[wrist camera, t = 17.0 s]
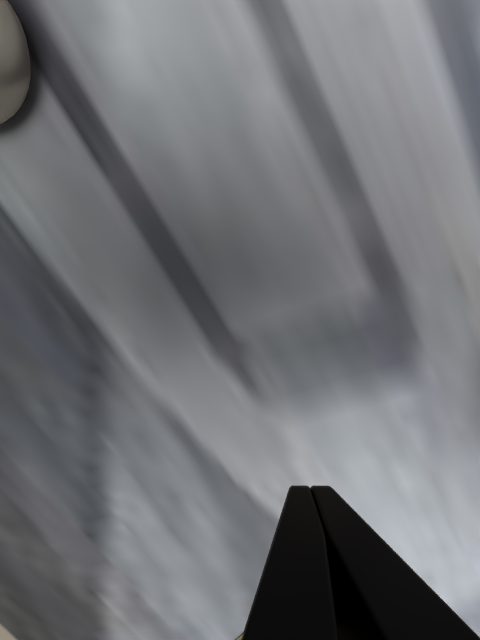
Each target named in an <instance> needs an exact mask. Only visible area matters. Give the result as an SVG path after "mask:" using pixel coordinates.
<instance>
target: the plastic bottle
mask: <svg viewBox="0 0 480 640" xmlns="http://www.w3.org/2000/svg"><path fill="white" fill-rule="evenodd" d="M30 76H31V70H30V56H29V50H28V45H27V40H26V36H25V33H24V31H23V28H22V25H21V22H20V20H19V19H18V17H17V15H16V13H15V11H14V10H13V8H12V6H11V5H10V4H9V2H8V1H7V0H0V124H2V123H3V122H5V121H6V120H8V119H9V118H11V117H12V116H13V115H14V114H15V113H16V112H17V111H18V110H19V109H20V107H21V106H22V104H23V102H24V100H25V98H26V95H27V92H28V89H29V84H30Z"/></svg>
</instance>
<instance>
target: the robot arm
mask: <svg viewBox="0 0 480 640" xmlns="http://www.w3.org/2000/svg"><path fill="white" fill-rule="evenodd" d="M241 640H480V637H479V636H478V635H477V634H476V633H475V632H474V631H473V630H472V629H471V628H470V627H469V626H468V625H467V624H466V623H465V622H464V621H463V620H462V619H461V618H460V617H459V616H458V615H457V614H456V613H455V612H454V611H453V610H452V609H451V608H450V607H449V606H448V605H447V604H446V603H445V602H444V601H443V600H442V599H441V598H440V597H439V596H438V595H437V594H436V593H435V592H434V591H433V590H432V589H431V588H430V587H429V586H428V585H427V584H426V583H425V582H424V581H423V580H422V579H421V578H420V577H419V576H418V575H417V574H416V573H415V572H414V571H413V569H412V568H411V567H410V566H409V565H408V564H407V563H406V562H405V561H404V560H403V559H402V558H401V557H400V556H399V555H398V554H397V553H396V552H395V551H394V550H393V549H392V548H391V547H390V546H389V545H388V544H387V543H386V542H385V541H384V540H383V539H382V538H381V537H380V536H379V535H378V534H377V533H376V532H375V531H374V530H373V529H372V528H371V527H370V526H369V525H368V524H367V523H366V522H365V521H364V520H363V519H362V518H361V517H360V516H359V515H358V514H357V513H356V512H355V511H354V510H353V509H352V508H351V507H350V506H349V505H348V504H347V503H346V502H345V501H344V500H343V498H342V497H341V496H340V495H339V494H338V493H337V492H336V491H335V490H334V489H333V488H332V487H330V486H312V487H311V488H309V487H308V486H291V487H290V488H289V491H288V494H287V497H286V500H285V503H284V506H283V509H282V513H281V516H280V519H279V522H278V525H277V528H276V532H275V535H274V538H273V541H272V544H271V547H270V551H269V554H268V557H267V560H266V563H265V566H264V569H263V573H262V576H261V579H260V582H259V585H258V588H257V592H256V595H255V598H254V601H253V604H252V607H251V611H250V614H249V617H248V620H247V623H246V626H245V630H244V633H243V636H242V639H241Z"/></svg>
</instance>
